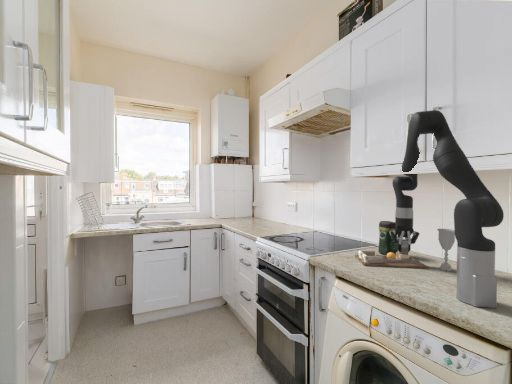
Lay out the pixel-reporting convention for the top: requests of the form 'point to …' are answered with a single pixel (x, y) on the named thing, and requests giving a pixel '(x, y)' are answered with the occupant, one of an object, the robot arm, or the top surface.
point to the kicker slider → (403, 251)
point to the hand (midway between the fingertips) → (403, 251)
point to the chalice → (446, 245)
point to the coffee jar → (387, 238)
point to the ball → (391, 255)
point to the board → (387, 261)
